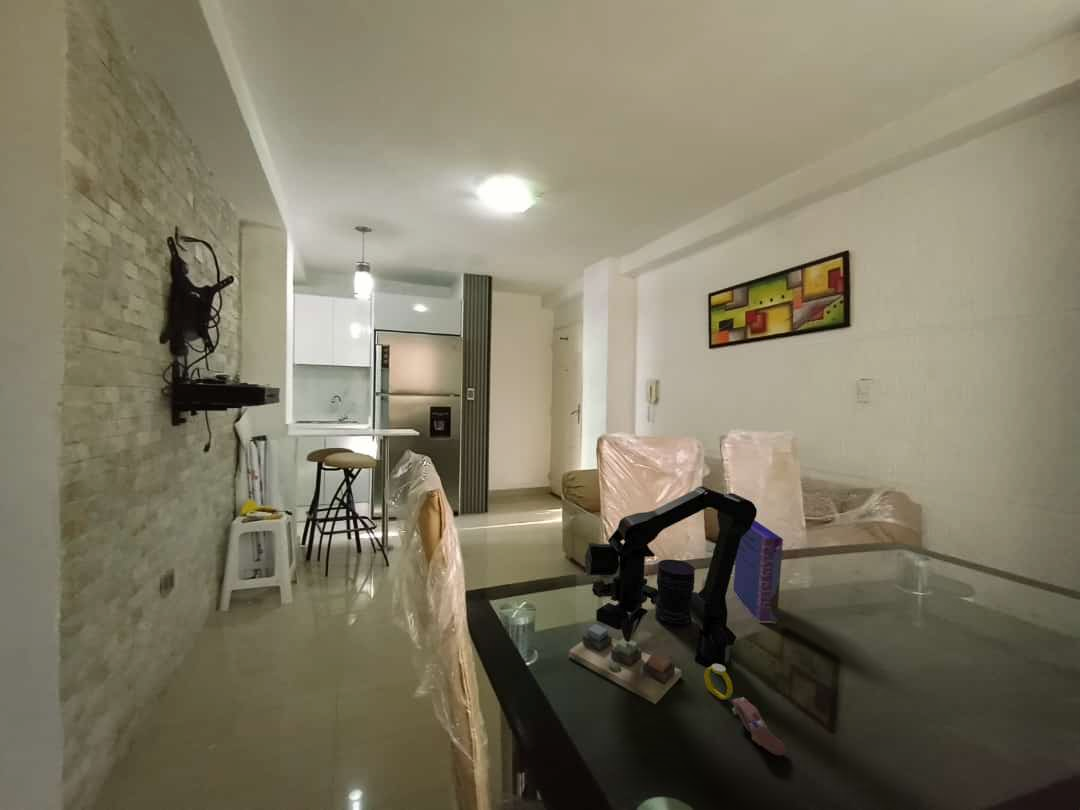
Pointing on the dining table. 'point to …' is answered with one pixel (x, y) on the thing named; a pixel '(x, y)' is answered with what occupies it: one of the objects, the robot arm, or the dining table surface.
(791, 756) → the dining table surface
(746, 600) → the cereal box
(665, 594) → the storage jar
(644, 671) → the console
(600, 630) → the slate button
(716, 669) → the gold ring
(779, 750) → the pink shoe
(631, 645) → the sage button
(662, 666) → the terracotta button
